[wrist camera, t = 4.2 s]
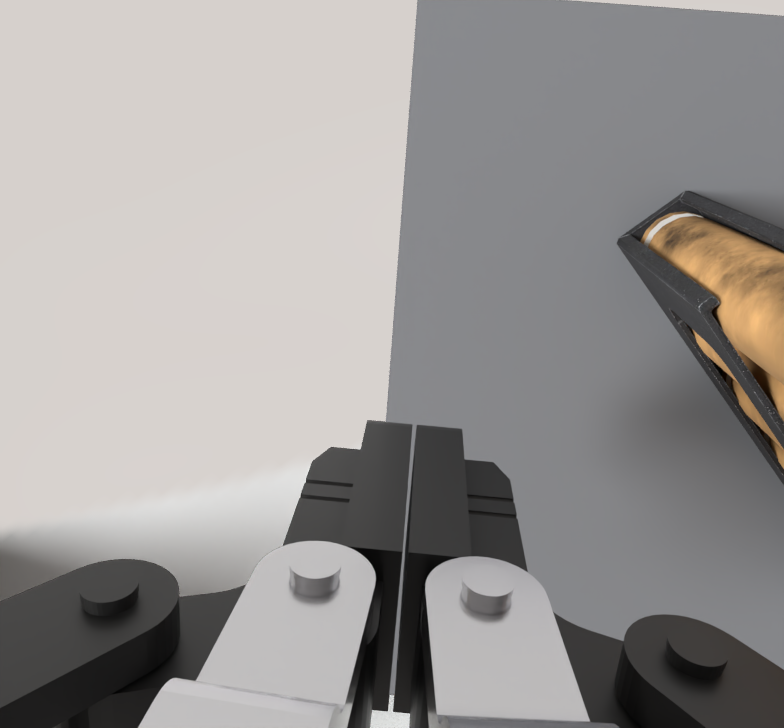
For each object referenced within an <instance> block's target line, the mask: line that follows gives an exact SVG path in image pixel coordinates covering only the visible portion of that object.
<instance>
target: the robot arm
mask: <svg viewBox="0 0 784 728" xmlns="http://www.w3.org/2000/svg"><path fill="white" fill-rule="evenodd" d="M412 426H413V424H404V423H393V422H383V421H372V420H368V421H367V424H366V429H365V433H364V438H363V442H362V447H361V450H358V449H347V448H336V447H331V448H329V449H328V450H327V451H325V452H324V453H323V454H321V455H320V456H319V457H317V458H316V459H315V460H313V461H312V464H311V467H310V470H309V472H308V475H307V478H306V483H305V484H304V487H303V490H302V492H301V498H299V501H298V504H297V507H296V510H295V512H294V515H293V518H292V521H291V524H290V527H289V530H288V532H287V535H286V538H285V541H284V544H283V546H282V547H279V548H277V549H275V550H273V551H271V552H270V553H268V554H267V555H265V556H264V557H263V558H262V559H261V560H260V561H259V563H258V564H257V566H256V567H255V569H254V571H253V573H252V575H251V577H250V578H249V580H248V582H247V584H246V585H244V586H241V587H239V588H236V589H232V590H228V591H223V592H217V593H210V594H202V595H193V596H185V597H179V587H178V583H177V581H176V579H175V578H174V576H173V575H172V574H171V573H170V572H169V571H168V570H166V569H165V568H163V567H161V566H159V565H157V564H154V563H151V562H147V561H142V560H135V559H118V560H108V561H102V562H98V563H94V564H90V565H87V566H84V567H82V568H79V569H76V570H74V571H72V572H69V573H67V574H65V575H62V576H60V577H58V578H55V579H53V580H51V581H48V582H46V583H43V584H41V585H39V586H36V587H34V588H32V589H29V590H27V591H25V592H22V593H20V594H18V595H15V596H13V597H10V598H8V599H6V600H3V601H1V602H0V728H370V722H371V713H372V710H379V711H388V704H389V693H390V682H391V671H392V661H393V650H394V639H395V628H396V618H397V607H398V596H399V586H400V575H401V564H402V553H403V541H404V528H405V515H406V502H407V490H408V477H409V464H410V451H411V438H412ZM513 502H514V498H513V492H512V487H511V482H510V479H509V478H508V477H507V476H506V475H505V474H504V473H503V472H502V471H501V470H500V469H499V467H498V466H497V465H496V464H495V463H494V462H487V461H476V460H466V459H464V446H463V433H462V429H460V428H449V427H438V426H427V425H417V426H416V435H415V446H414V456H413V467H412V478H411V488H410V499H409V510H408V520H407V532H406V544H405V557H404V570H403V584H402V598H401V611H400V625H399V639H398V653H397V666H396V680H395V694H394V707H393V712H401V713H410V727H409V728H784V670H783V669H782V668H780V667H779V666H777V665H776V664H774V663H773V662H771V661H770V660H768V659H767V658H765V657H764V656H762V655H761V654H759V653H757V652H756V651H754V650H753V649H751V648H750V647H748V646H747V645H745V644H744V643H742V642H741V641H739V640H738V639H736V638H735V637H733V636H731V635H730V634H728V633H726V632H725V631H723V630H721V629H719V628H717V627H715V626H713V625H711V624H708V623H705V622H703V621H700V620H697V619H693V618H689V617H685V616H679V615H669V614H660V615H651V616H647V617H644V618H641V619H639V620H637V621H636V622H634V623H633V624H631V626H630V627H629V628H628V629H627V631H626V634H625V636H624V641H621V640H618V639H615V638H612V637H609V636H606V635H602V634H599V633H596V632H593V631H590V630H587V629H585V628H582V627H579V626H577V625H575V624H573V623H571V622H569V621H567V620H565V619H563V618H562V617H560V616H558V615H557V614H555V613H554V612H553V611H552V608H551V605H550V602H549V599H548V596H547V594H546V592H545V589H544V588H543V587H542V585H541V584H540V583H539V582H538V581H537V580H536V579H535V578H534V577H533V576H532V575H530V574H529V573H528V570H527V565H526V560H525V555H524V550H523V544H522V539H521V534H520V529H519V524H518V519H517V513H516V508H515V503H513Z"/></svg>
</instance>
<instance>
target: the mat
mask: <svg viewBox="0 0 784 728" xmlns="http://www.w3.org/2000/svg"><path fill="white" fill-rule="evenodd" d="M411 82H412V83H411V96H410V109H409V122H408V135H407V148H406V162H405V175H404V189H403V201H402V215H401V228H400V242H399V255H398V270H397V282H396V296H395V308H394V321H393V335H392V348H391V361H390V375H389V389H388V402H387V415H386V422H393V423H404V424H413V426H412V438H411V451H410V464H409V477H408V490H407V502H406V515H405V528H404V541H403V553H402V564H401V575H400V586H399V596H398V607H397V618H396V628H395V639H394V650H393V661H392V671H391V682H390V693H389V695H394V694H395V680H396V666H397V653H398V639H399V625H400V611H401V598H402V584H403V570H404V557H405V544H406V532H407V520H408V510H409V499H410V488H411V478H412V467H413V456H414V446H415V435H416V426H417V425H427V426H438V427H449V428H460V429H462V433H463V446H464V459H466V460H476V461H487V462H494V463H495V464H496V465H497V466H498V467H499V469H500V470H501V471H502V472H503V473H504V474H505V475H506V476H507V477H508V478H509V479H510V482H511V487H512V492H513V498H514V502H513V503H515V508H516V513H517V519H518V524H519V529H520V534H521V539H522V544H523V550H524V555H525V560H526V565H527V570H528V573H529V574H530V575H532V576H533V577H534V578H535V579H536V580H537V581H538V582H539V583H540V584H541V585H542V587H543V588H544V589H545V592H546V594H547V596H548V599H549V602H550V605H551V608H552V611H553V612H554V613H555V614H557V615H558V616H560V617H562V618H563V619H565V620H567V621H569V622H571V623H573V624H575V625H577V626H579V627H582V628H585V629H587V630H590V631H593V632H596V633H599V634H602V635H606V636H609V637H612V638H615V639H618V640H621V641H624V636H625V634H626V631H627V629H628V628H629V627H630V626H631V624H633V623H634V622H636V621H637V620H639V619H641V618H644V617H647V616H651V615H660V614H669V615H679V616H685V617H689V618H693V619H697V620H700V621H703V622H705V623H708V624H711V625H713V626H715V627H717V628H719V629H721V630H723V631H725V632H726V633H728V634H730V635H731V636H733V637H735V638H736V639H738V640H739V641H741V642H742V643H744V644H745V645H747V646H748V647H750V648H751V649H753V650H754V651H756V652H757V653H759V654H761V655H762V656H764V657H765V658H767V659H768V660H770V661H771V662H773V663H774V664H776V665H777V666H779V667H780V668H782V669H783V670H784V485H783V484H782V482H781V481H780V479H779V478H778V476H777V475H776V473H775V472H774V471H773V469H772V468H771V466H770V465H769V463H768V462H767V460H766V459H765V458H764V456H763V455H762V453H761V452H760V450H759V449H758V447H757V446H756V445H755V443H754V442H753V440H752V439H751V437H750V436H749V434H748V433H747V432H746V430H745V429H744V427H743V426H742V424H741V423H740V421H739V420H738V419H737V417H736V416H735V414H734V413H733V411H732V410H731V408H730V407H729V406H728V404H727V403H726V401H725V400H724V398H723V397H722V395H721V394H720V393H719V391H718V390H717V388H716V387H715V385H714V384H713V382H712V381H711V380H710V378H709V377H708V375H707V374H706V372H705V371H704V369H703V368H702V367H701V365H700V364H699V362H698V361H697V359H696V358H695V356H694V355H693V354H692V352H691V351H690V349H689V348H688V346H687V345H686V343H685V342H684V341H683V339H682V338H681V336H680V335H679V333H678V332H677V330H676V329H675V327H674V326H673V325H672V323H671V322H670V320H669V319H668V317H667V316H666V314H665V313H664V312H663V310H662V309H661V307H660V306H659V304H658V303H657V301H656V300H655V299H654V297H653V296H652V294H651V293H650V291H649V290H648V288H647V287H646V286H645V284H644V283H643V281H642V280H641V278H640V277H639V275H638V274H637V273H636V271H635V270H634V268H633V267H632V265H631V264H630V262H629V261H628V260H627V258H626V257H625V255H624V254H623V252H622V251H621V249H620V248H619V247H618V245H617V241H618V238H619V237H621V236H622V235H623V234H625V233H626V232H628V231H629V230H631V229H632V228H633V227H635V226H636V225H638V224H639V223H640V222H642V221H643V220H645V219H646V218H647V217H649V216H650V215H652V214H653V213H654V212H656V211H657V210H659V209H660V208H661V207H663V206H664V205H666V204H667V203H669V202H670V201H671V200H673V199H674V198H676V197H677V196H678V195H680V194H681V193H683V192H684V191H691V192H694V193H696V194H699V195H701V196H703V197H706V198H708V199H711V200H713V201H716V202H718V203H721V204H723V205H726V206H728V207H731V208H733V209H736V210H738V211H740V212H743V213H745V214H748V215H750V216H753V217H755V218H758V219H760V220H763V221H765V222H768V223H770V224H773V225H775V226H777V227H780V228H782V229H784V16H777V15H763V14H749V13H734V12H721V11H708V10H693V9H679V8H666V7H651V6H638V5H623V4H610V3H596V2H595V3H594V2H582V1H568V0H418V2H417V15H416V29H415V42H414V55H413V68H412V81H411Z"/></svg>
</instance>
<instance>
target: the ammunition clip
mask: <svg viewBox="0 0 784 728" xmlns="http://www.w3.org/2000/svg"><path fill="white" fill-rule="evenodd" d="M617 245H618V247H619V248H620V249H621V251H622V252H623V254H624V255H625V257H626V258H627V260H628V261H629V262H630V264H631V265H632V267H633V268H634V270H635V271H636V273H637V274H638V275H639V277H640V278H641V280H642V281H643V283H644V284H645V286H646V287H647V288H648V290H649V291H650V293H651V294H652V296H653V297H654V299H655V300H656V301H657V303H658V304H659V306H660V307H661V309H662V310H663V312H664V313H665V314H666V316H667V317H668V319H669V320H670V322H671V323H672V325H673V326H674V327H675V329H676V330H677V332H678V333H679V335H680V336H681V338H682V339H683V341H684V342H685V343H686V345H687V346H688V348H689V349H690V351H691V352H692V354H693V355H694V356H695V358H696V359H697V361H698V362H699V364H700V365H701V367H702V368H703V369H704V371H705V372H706V374H707V375H708V377H709V378H710V380H711V381H712V382H713V384H714V385H715V387H716V388H717V390H718V391H719V393H720V394H721V395H722V397H723V398H724V400H725V401H726V403H727V404H728V406H729V407H730V408H731V410H732V411H733V413H734V414H735V416H736V417H737V419H738V420H739V421H740V423H741V424H742V426H743V427H744V429H745V430H746V432H747V433H748V434H749V436H750V437H751V439H752V440H753V442H754V443H755V445H756V446H757V447H758V449H759V450H760V452H761V453H762V455H763V456H764V458H765V459H766V460H767V462H768V463H769V465H770V466H771V468H772V469H773V471H774V472H775V473H776V475H777V476H778V478H779V479H780V481H781V482H782V484H783V485H784V229H782V228H780V227H777V226H775V225H773V224H770V223H768V222H765V221H763V220H760V219H758V218H755V217H753V216H750V215H748V214H745V213H743V212H740V211H738V210H736V209H733V208H731V207H728V206H726V205H723V204H721V203H718V202H716V201H713V200H711V199H708V198H706V197H703V196H701V195H699V194H696V193H694V192H691V191H684V192H683V193H681V194H680V195H678V196H677V197H676V198H674V199H673V200H671V201H670V202H669V203H667V204H666V205H664V206H663V207H661V208H660V209H659V210H657V211H656V212H654V213H653V214H652V215H650V216H649V217H647V218H646V219H645V220H643V221H642V222H640V223H639V224H638V225H636V226H635V227H633V228H632V229H631V230H629V231H628V232H626V233H625V234H623V235H622V236H621V237H619V238H618V241H617Z"/></svg>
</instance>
